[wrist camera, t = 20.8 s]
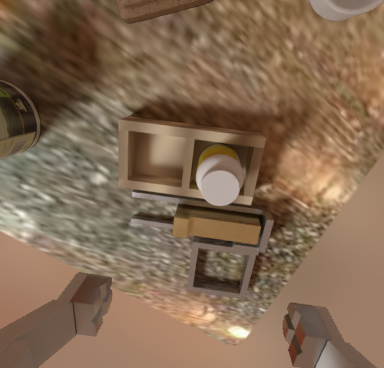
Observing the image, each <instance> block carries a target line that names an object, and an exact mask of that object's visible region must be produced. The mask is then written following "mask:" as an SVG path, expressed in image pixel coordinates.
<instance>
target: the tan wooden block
mask: <svg viewBox="0 0 384 368" xmlns="http://www.w3.org/2000/svg"><path fill="white" fill-rule="evenodd" d="M260 230H261V225H260V222H259V219H258V216H257V214H253V213H245V212H238V211H231V210H224V209H217V208H209V207H202V206H195V205H188V204H180V203H179V204H178V207H177V210H176V214H175V217H174V226H173V236H177V237H184V238H187V235H193V236H200V237H207V238H214V239H221V240H228V241H235V242H242V243H249V244H256V245H257V241H258V237H259V233H260Z"/></svg>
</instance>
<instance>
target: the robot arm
mask: <svg viewBox="0 0 384 368" xmlns="http://www.w3.org/2000/svg"><path fill="white" fill-rule="evenodd" d="M111 285H112V278H111V277H107V276H101V275H95V274H88V273H82V272H79V273H77V274H76V275H75V276H74V278H73V279H72V280H71V282H70V283H69V284H68V286H67V287H66V288H65V290H64V291H63V292H62V294H61V295H60V296H59V298H58V299H57V300H52V301H50V302H48V303H47V304H45V305H43V306H41V307H40V308H38V309H36V310H34V311H32V312H30V313H29V314H27V315H25V316H23V317H22V318H20V319H18V320H16V321H15V322H13V323H11V324H9V325H7V326H5V327H4V328H2V329H0V368H38V367H39V366H40V365H42V364H43V363H44V362H45V361H46V360H48V359H49V358H50V357H51V356H52V355H53V354H55V353H56V352H57V351H58V350H59V349H61V348H62V347H63V346H64V345H65V344H66V343H68V341H70V340H71V339H72V338H73V337H75V336H76V334H80V335H88V336H96V335H97V333H98V331H99V329H100V327H101V325H102V323H103V319H102V316H104V315H105V314H106V313H107V312H108V310H109V308H110V304H111V301H112V290H111V289H110V287H111ZM287 310H288V314H287V315H285V316H284V320H283V334H284V337H285V340H286V341H287V342H288V343H289V344H290V346H289V349H288V351H289V355H290V358H291V361H292V365H293V366H294V367H300V368H376V367H375V366H374V365H373V364H372V363H371V362H370V361H369V360H367V359H366V358H365V357H364V356H363V355H362V354H361V353H359V352H358V351H357V350H356V349H355V348H354V347H353V346H352V345H350V344H349V343H346V342H345V341H344V339H343V337H342V336H341V334H340V332H339V330H338V328H337V326H336V324H335V322H334V321H333V319H332V317H331V315H330V313H329V311H328V310H327V308H326V307H321V306H312V305H306V304H298V303H290V304H289V305H288V308H287Z"/></svg>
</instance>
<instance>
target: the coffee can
mask: <svg viewBox="0 0 384 368" xmlns="http://www.w3.org/2000/svg"><path fill="white" fill-rule="evenodd" d="M39 135H40V119H39V115H38V112H37V110H36V108H35V106H34V104H33V102H32V101H31V100H30V98H29V97H28V96H27V95H26V94H25V93H24V92H23V91H22V90H21V89H19V88H18V87H17V86H15V85H13V84H11V83H9V82H6V81H3V80H0V159H2V158H5V157H8V156H11V155H14V154H17V153H21V152H25V151H28V150H29V149H31V148H32V147H33V146H34V145H35V144H36V142H37V140H38V138H39Z"/></svg>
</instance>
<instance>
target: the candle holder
mask: <svg viewBox="0 0 384 368" xmlns="http://www.w3.org/2000/svg"><path fill="white" fill-rule="evenodd" d="M212 1H213V0H116V3H117V7H118V10H119V13H120V16H121V18H122V19H123V20H124V21H125V22H126V23H135V22H140V21H144V20H148V19H152V18H155V17H159V16H163V15H167V14H171V13H174V12H178V11H182V10H186V9H189V8H193V7H197V6H200V5H204V4H207V3H210V2H212Z"/></svg>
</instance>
